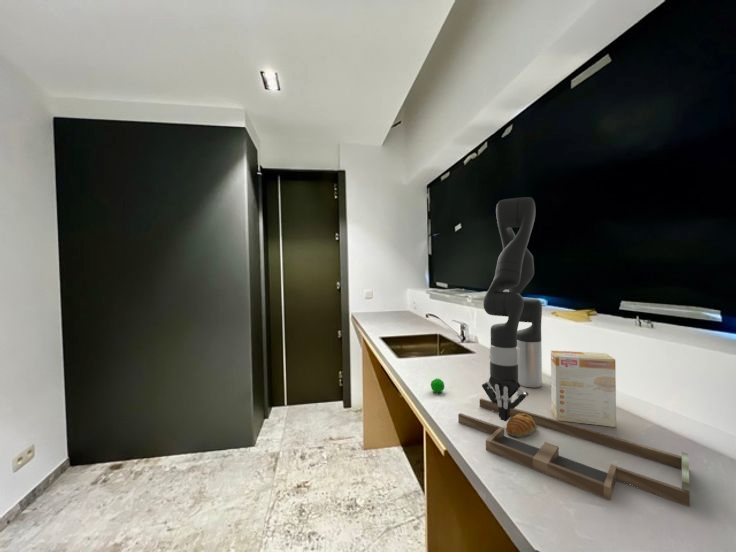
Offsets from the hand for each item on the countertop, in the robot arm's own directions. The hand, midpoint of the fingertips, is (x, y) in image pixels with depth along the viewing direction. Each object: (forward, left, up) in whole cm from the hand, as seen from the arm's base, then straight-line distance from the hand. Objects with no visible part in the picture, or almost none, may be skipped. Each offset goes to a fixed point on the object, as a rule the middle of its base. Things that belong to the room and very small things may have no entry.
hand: (504, 419), depth 90 cm
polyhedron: (-8, -28, -2) cm, 29 cm away
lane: (+4, +13, -2) cm, 14 cm away
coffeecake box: (-19, +15, -2) cm, 25 cm away
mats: (+10, +14, -2) cm, 17 cm away
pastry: (0, +4, -2) cm, 5 cm away
